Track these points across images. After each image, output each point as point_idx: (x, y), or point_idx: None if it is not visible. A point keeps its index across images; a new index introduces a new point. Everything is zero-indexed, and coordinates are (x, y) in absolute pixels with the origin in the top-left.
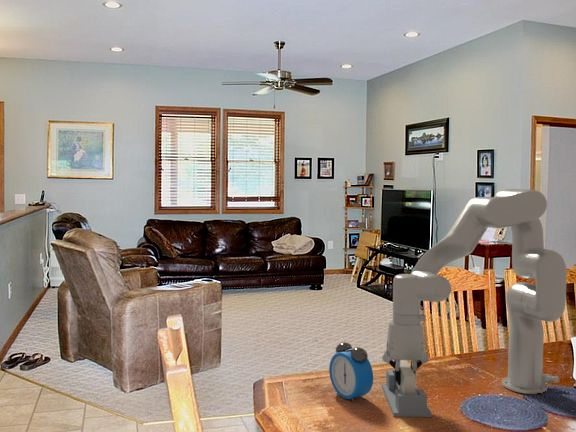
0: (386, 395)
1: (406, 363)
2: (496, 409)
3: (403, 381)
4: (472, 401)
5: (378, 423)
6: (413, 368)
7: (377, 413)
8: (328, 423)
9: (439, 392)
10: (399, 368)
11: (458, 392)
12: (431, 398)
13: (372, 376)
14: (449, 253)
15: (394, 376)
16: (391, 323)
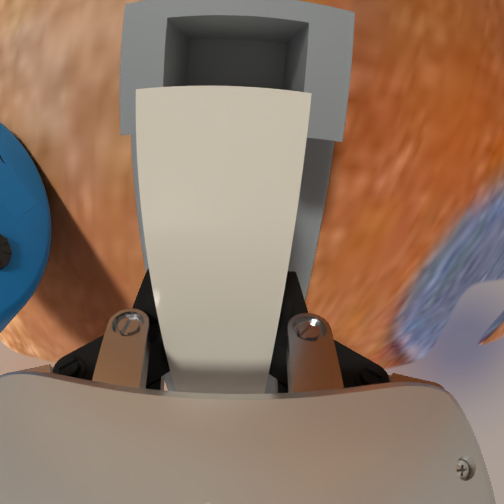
0: (135, 194)
1: (261, 272)
2: (483, 281)
3: None
4: (476, 227)
5: None
6: (284, 383)
7: (112, 315)
8: (26, 344)
9: (428, 123)
10: (163, 384)
11: (483, 141)
12: (368, 186)
13: (23, 306)
14: None
15: (197, 27)
16: None
